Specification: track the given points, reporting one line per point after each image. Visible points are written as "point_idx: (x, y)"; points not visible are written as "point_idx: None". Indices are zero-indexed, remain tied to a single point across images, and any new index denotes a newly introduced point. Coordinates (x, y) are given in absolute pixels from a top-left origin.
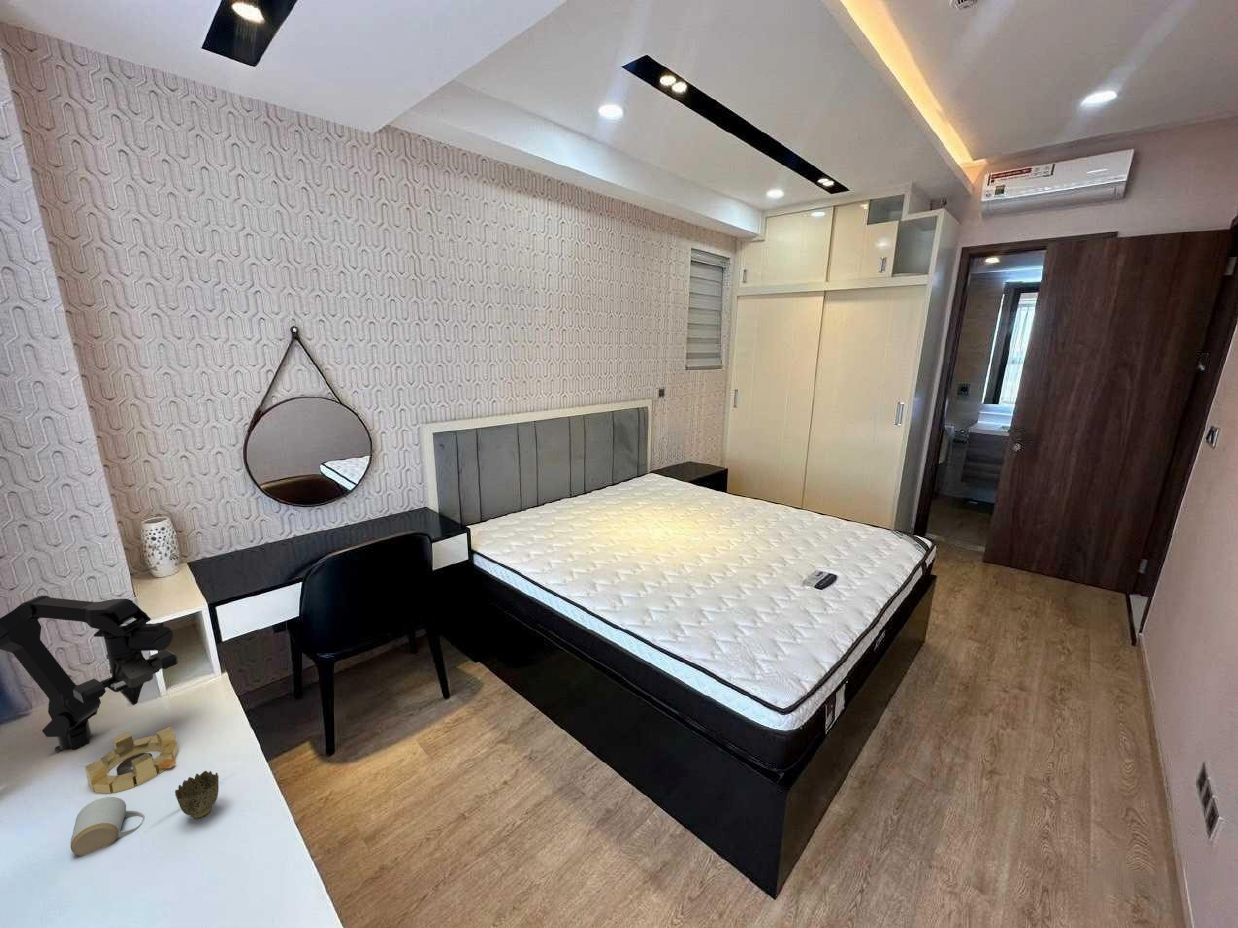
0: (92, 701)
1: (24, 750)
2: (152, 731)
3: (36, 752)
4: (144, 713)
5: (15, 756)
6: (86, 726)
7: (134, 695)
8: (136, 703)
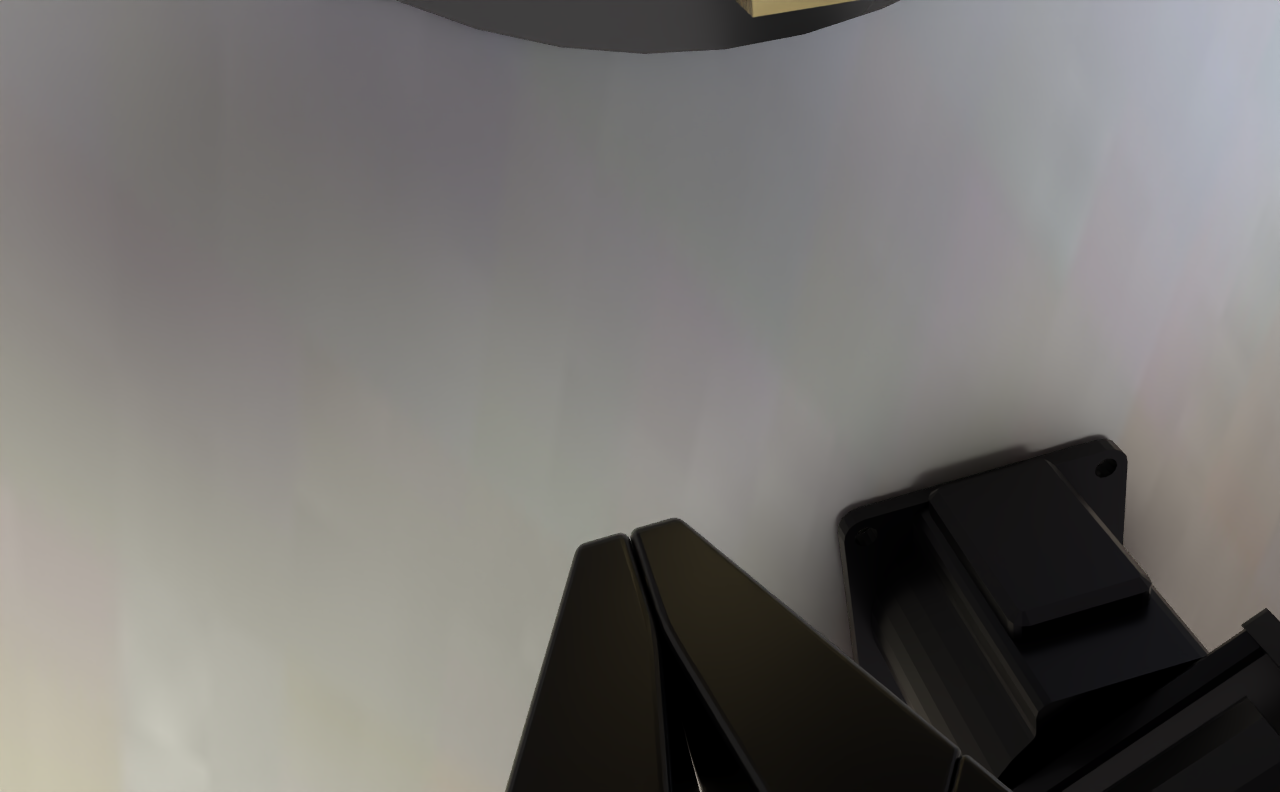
0: None
1: None
2: (349, 325)
3: None
4: (396, 750)
5: None
6: (1028, 693)
7: (681, 789)
8: (594, 547)
